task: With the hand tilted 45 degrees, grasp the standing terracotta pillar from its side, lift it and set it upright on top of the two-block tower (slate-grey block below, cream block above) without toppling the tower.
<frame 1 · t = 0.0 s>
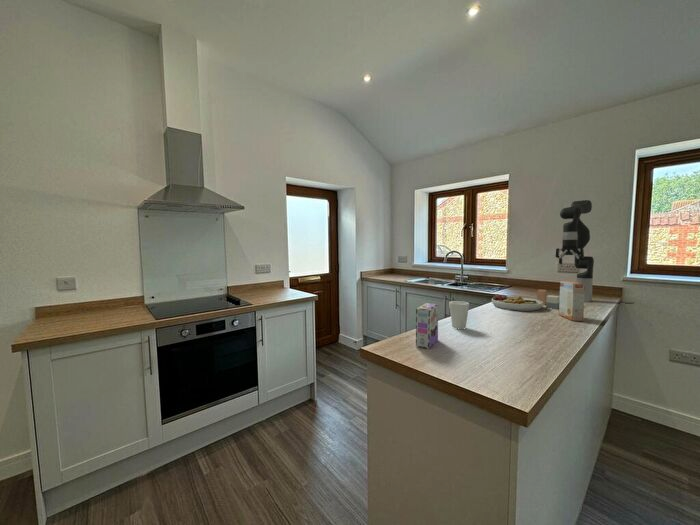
hand: (569, 264, 183), 29 cm above the worktop, tool pointing down, fingers open, 8 cm apart
tower top: (553, 302, 191), point 4 cm above the worktop, touching tower base
pillar: (541, 304, 204), on the worktop
candy box: (427, 343, 124), on the worktop
cracker box: (570, 318, 163), on the worktop
tower base: (552, 308, 191), on the worktop, touching tower top
bowl: (516, 307, 196), on the worktop
foam cup: (458, 328, 147), on the worktop
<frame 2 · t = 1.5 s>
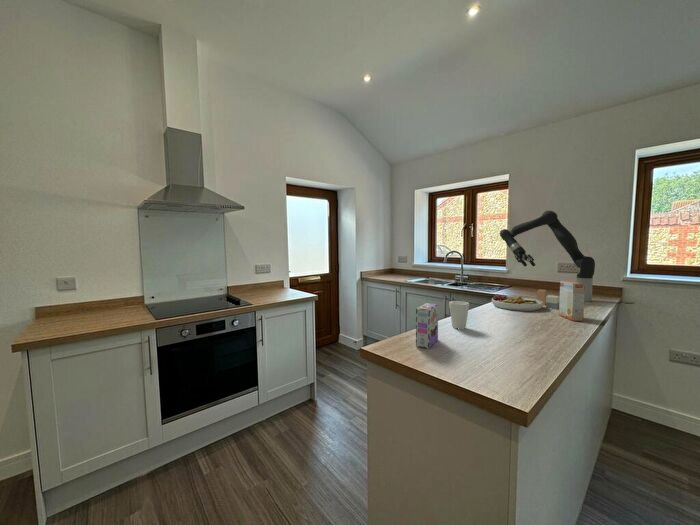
hand: (530, 265, 211), 27 cm above the worktop, tool tilted 45°, fingers open, 8 cm apart
nothing on the worktop moved.
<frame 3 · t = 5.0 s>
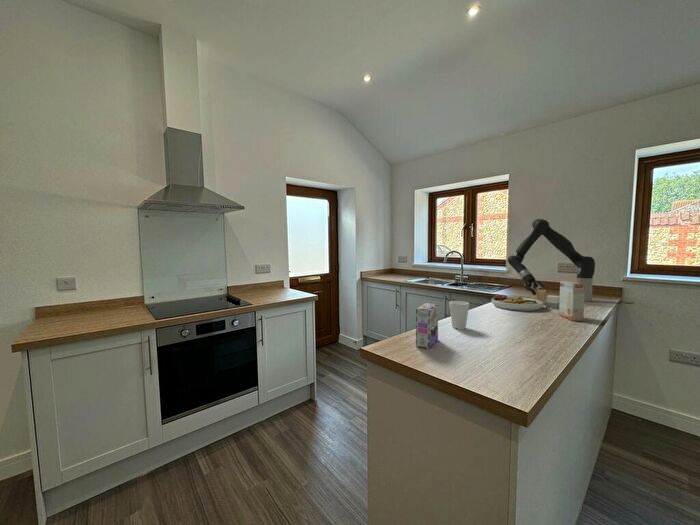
hand: (540, 294, 205), 7 cm above the worktop, tool tilted 45°, fingers open, 8 cm apart
nothing on the worktop moved.
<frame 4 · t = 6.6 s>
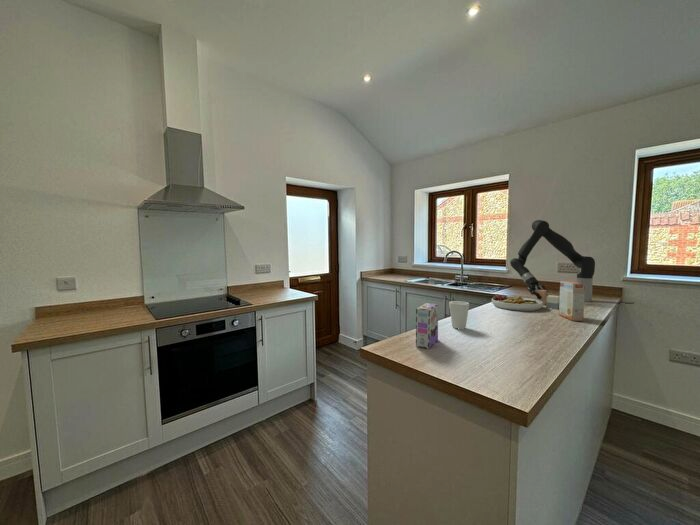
hand: (544, 298, 202), 5 cm above the worktop, tool tilted 45°, fingers closed on pillar, 6 cm apart
pillar: (541, 304, 204), on the worktop, touching gripper
everything else where it was.
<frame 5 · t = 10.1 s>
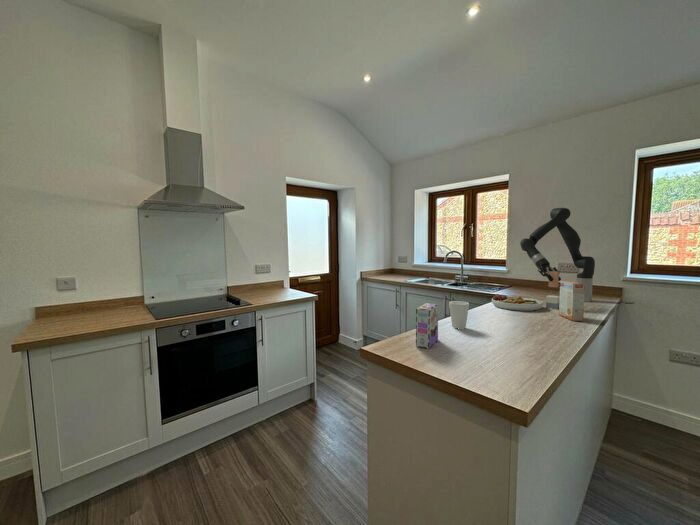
hand: (556, 280, 188), 19 cm above the worktop, tool tilted 45°, fingers closed on pillar, 6 cm apart
pillar: (553, 286, 190), point 14 cm above the worktop, touching gripper
everything else where it was.
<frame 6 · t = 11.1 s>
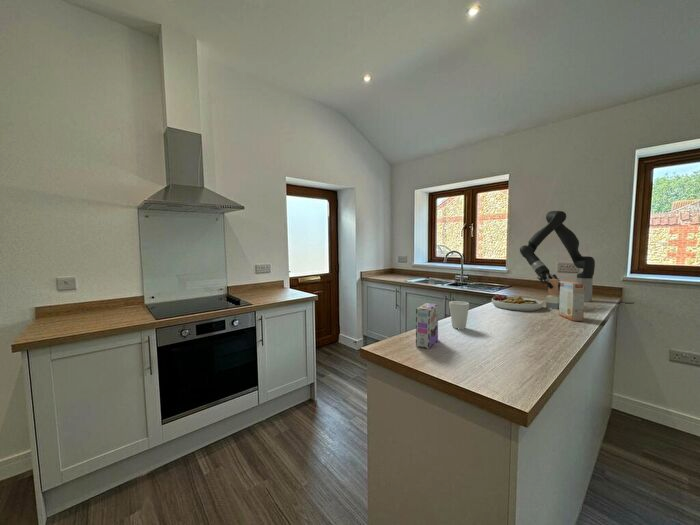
hand: (555, 287, 189), 14 cm above the worktop, tool tilted 45°, fingers closed on pillar, 6 cm apart
pillar: (553, 294, 191), point 9 cm above the worktop, touching gripper
everything else where it was.
when the fingers open (14 cm above the worktop, at t = 11.6 s): pillar drops 1 cm, resting on tower top.
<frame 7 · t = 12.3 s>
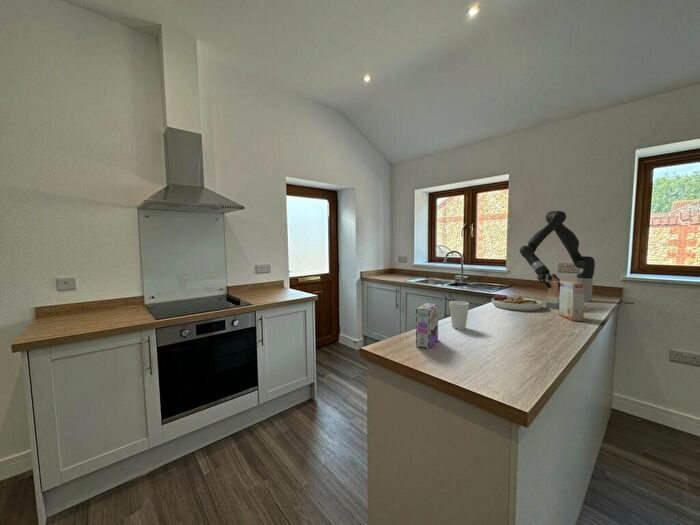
hand: (555, 287, 189), 14 cm above the worktop, tool tilted 45°, fingers open, 8 cm apart
tower top: (553, 302, 191), point 4 cm above the worktop, touching pillar, tower base
pillar: (552, 296, 191), point 8 cm above the worktop, touching tower top
everything else where it was.
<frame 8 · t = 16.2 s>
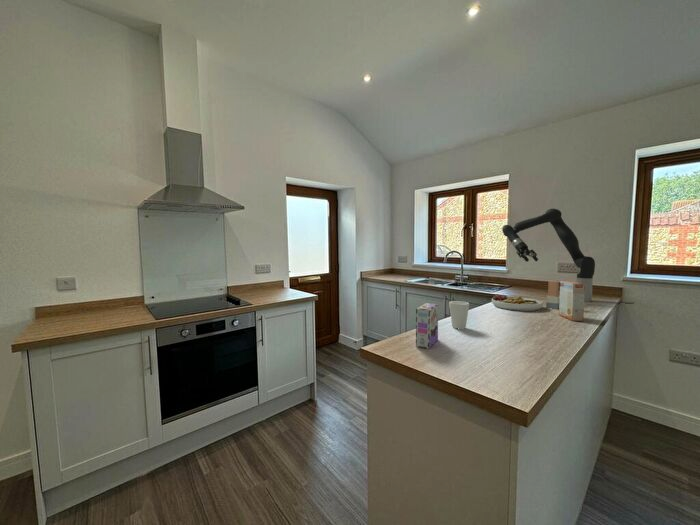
hand: (532, 260, 208), 31 cm above the worktop, tool tilted 45°, fingers open, 8 cm apart
tower top: (553, 302, 191), point 4 cm above the worktop, touching tower base
pillar: (553, 296, 191), point 8 cm above the worktop
everything else where it was.
at the end: pillar 0.1 cm off-centre on the tower top, point 4.0 cm above the tower top's base; pillar tilted 0°; tower top tilted 0° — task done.
